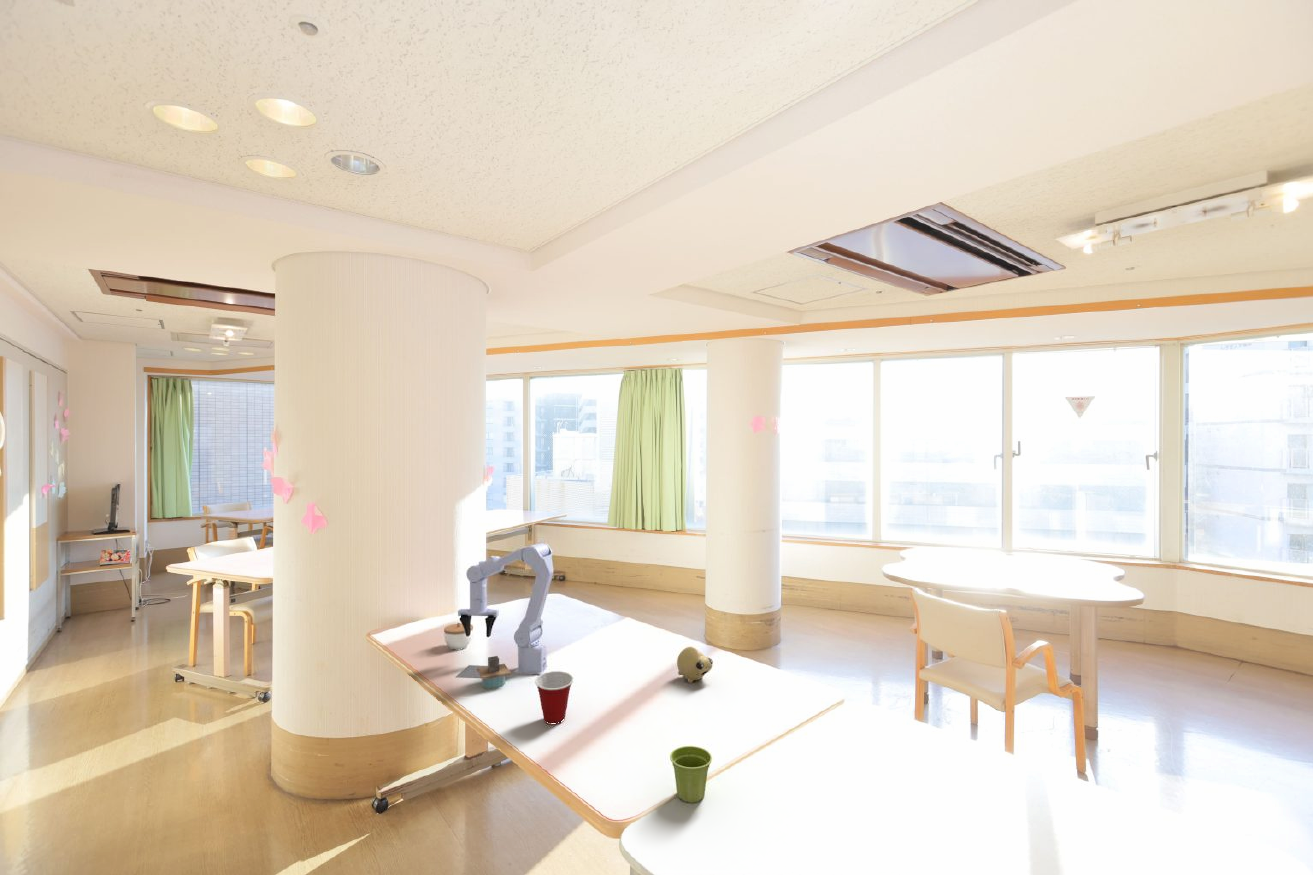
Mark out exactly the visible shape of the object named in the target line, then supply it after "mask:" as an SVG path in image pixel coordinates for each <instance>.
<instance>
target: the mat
mask: <svg viewBox="0 0 1313 875" xmlns="http://www.w3.org/2000/svg"><path fill="white" fill-rule="evenodd" d="M487 666H488V665H475V664H468V665H467V666H466V667H465V668H464V669H463V670H461V671H460V672H459V673H458V674H457V675H456V676H455V678H462V679H463V678H465V679H482V678H481V676H480V675H479V673H478V671H477V668H481V667H487Z"/></svg>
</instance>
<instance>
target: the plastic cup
mask: <svg viewBox="0 0 1313 875" xmlns="http://www.w3.org/2000/svg"><path fill="white" fill-rule="evenodd" d="M573 682H574V677H573V675H572V674H570V673H569V672H566V671H560V670H554V671H553V670H552V671H548V672H544V673H541V674H538V676H537V677H536V678H535V681H534V683H535V686H536V687H537V691H538V695H539V700H540V706H541V711H542V716H543V721H544V720H545V721H546V722H548V723H558V722H561V721H562V720H563V719H564V720H565V718H566V714H567V708H568V701H569V697H570V696H569V695H570V690H571V687H572V684H573ZM545 721H544V722H545Z"/></svg>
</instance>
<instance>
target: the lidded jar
mask: <svg viewBox="0 0 1313 875" xmlns="http://www.w3.org/2000/svg"><path fill="white" fill-rule="evenodd" d="M473 629H474V626H473V624H471V634H470V635H469V636H468V637H466V633H465V630H464V627H463V625H462V623H461V622H457V623H453V624H449V625H446V626H445V627H444V628H443V632H444V634H443V635H444V641H445V643H446V645H447V646H448V647H449V648H450V649H451V648H452V649H451V650H453V649H460V650H462V649H461V648H464V649H466V648H467V647H468V646H469V644H470V643H471V641H472V639H473V635H474V634H473V632H474V630H473Z"/></svg>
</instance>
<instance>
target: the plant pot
mask: <svg viewBox="0 0 1313 875" xmlns="http://www.w3.org/2000/svg"><path fill="white" fill-rule="evenodd" d="M669 759H670V761H671V762H672V767H673V771H674V778H675V785H676V786H675V787H676V794H677V797H678V798H679V799H681V800H682V801H683V802H685V803H698V802H699V801H701V800H703V799H704V798H705V795H706V794H705V793H706V787H707V786H706V785H707V780H708V774H709V773H708V771H709V768H710V764H711V763H712V760H713V756H712V754H711V753H710V752H709V750H706V749H705V748H703V747H700V746H696V745H695V746H694V745H683V746H680V747H677V748H675V749H674V750H672V751H671V753H670V755H669Z"/></svg>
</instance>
